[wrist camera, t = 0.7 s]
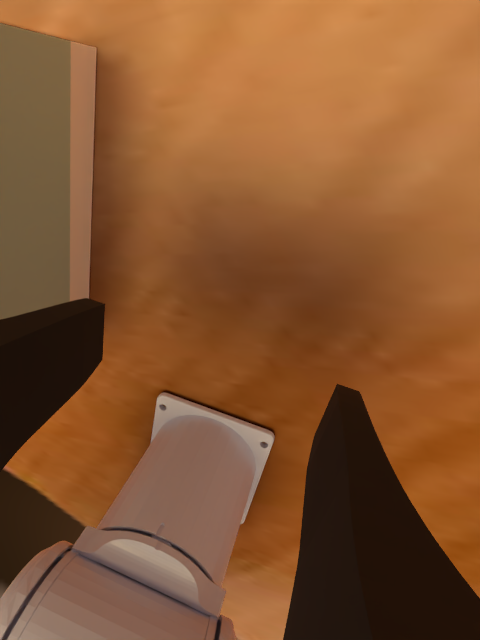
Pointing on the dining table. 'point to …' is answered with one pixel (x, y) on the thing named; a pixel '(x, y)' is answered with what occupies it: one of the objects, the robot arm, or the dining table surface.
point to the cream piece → (81, 165)
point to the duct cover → (34, 171)
